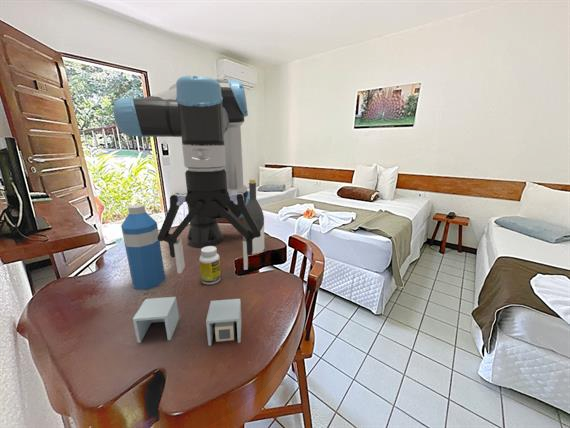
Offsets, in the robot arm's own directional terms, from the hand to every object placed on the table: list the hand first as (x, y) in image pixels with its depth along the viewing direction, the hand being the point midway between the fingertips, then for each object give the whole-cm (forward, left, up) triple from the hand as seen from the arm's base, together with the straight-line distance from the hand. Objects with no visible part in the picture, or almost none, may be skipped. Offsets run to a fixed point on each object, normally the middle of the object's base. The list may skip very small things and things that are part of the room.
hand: (214, 268), depth 52 cm
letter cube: (0, +2, -17) cm, 17 cm away
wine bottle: (-43, +2, -17) cm, 46 cm away
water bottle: (-21, -29, -17) cm, 39 cm away
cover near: (0, -15, -17) cm, 22 cm away
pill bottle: (-22, -9, -17) cm, 30 cm away
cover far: (0, +1, -17) cm, 17 cm away
